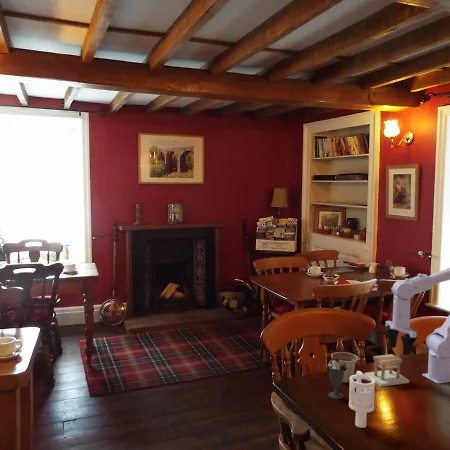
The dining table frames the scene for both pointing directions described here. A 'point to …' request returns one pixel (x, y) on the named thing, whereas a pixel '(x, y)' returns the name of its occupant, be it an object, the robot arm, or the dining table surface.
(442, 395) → the dining table surface
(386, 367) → the stool
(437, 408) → the dining table surface
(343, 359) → the flower pot
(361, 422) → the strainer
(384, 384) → the board
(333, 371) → the sundae
